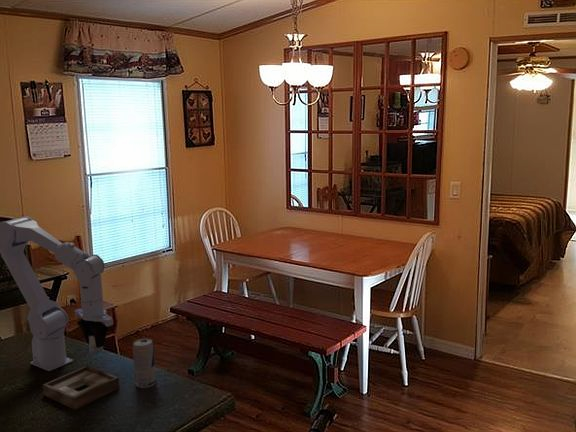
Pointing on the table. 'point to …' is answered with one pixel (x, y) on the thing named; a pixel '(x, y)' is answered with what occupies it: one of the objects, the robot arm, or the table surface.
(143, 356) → the energy drink
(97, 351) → the peg
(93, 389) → the bore box
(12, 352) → the table surface
